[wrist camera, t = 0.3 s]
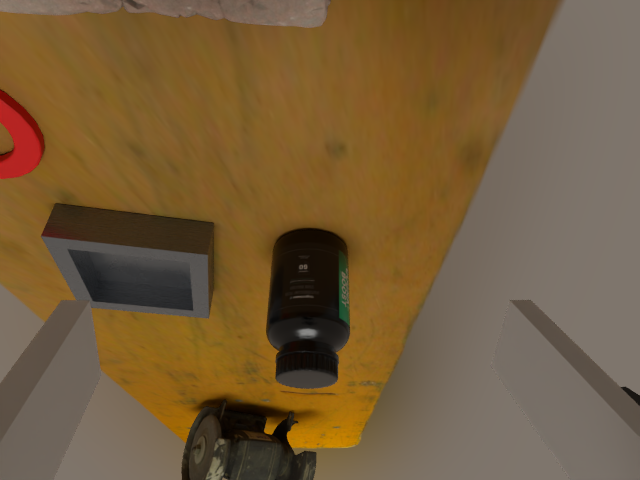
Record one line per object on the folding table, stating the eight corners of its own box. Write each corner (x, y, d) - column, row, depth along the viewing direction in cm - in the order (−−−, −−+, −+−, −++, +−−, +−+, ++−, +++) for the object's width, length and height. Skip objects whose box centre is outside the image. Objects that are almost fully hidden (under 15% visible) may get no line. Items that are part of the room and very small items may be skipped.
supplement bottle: (353, 230, 39) (358, 367, 32) (342, 270, 44) (344, 394, 38) (273, 224, 38) (261, 363, 31) (272, 265, 44) (262, 391, 37)
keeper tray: (55, 203, 36) (41, 236, 34) (213, 223, 38) (207, 255, 36) (89, 278, 46) (80, 306, 45) (213, 290, 48) (208, 318, 46)
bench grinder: (226, 405, 74) (180, 535, 70) (332, 430, 84) (298, 545, 80) (193, 378, 92) (155, 480, 87) (285, 401, 102) (255, 494, 97)
